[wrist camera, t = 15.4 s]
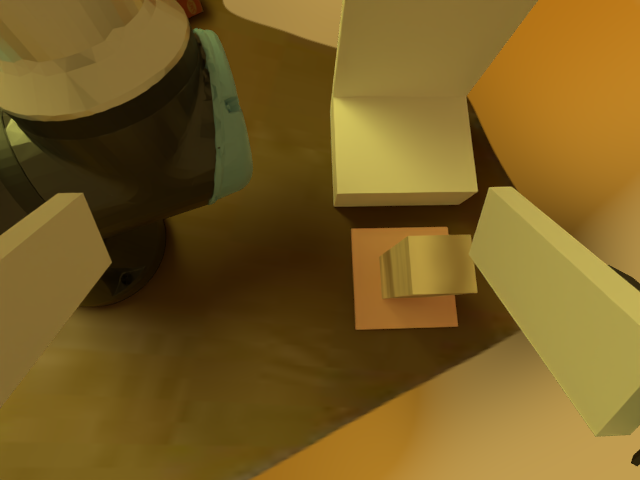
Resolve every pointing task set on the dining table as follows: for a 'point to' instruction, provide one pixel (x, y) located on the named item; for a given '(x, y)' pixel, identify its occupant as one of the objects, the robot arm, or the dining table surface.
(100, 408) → the dining table surface
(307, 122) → the dining table surface
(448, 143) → the l-shaped bookend
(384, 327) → the tile pad
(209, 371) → the dining table surface
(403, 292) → the maple block
